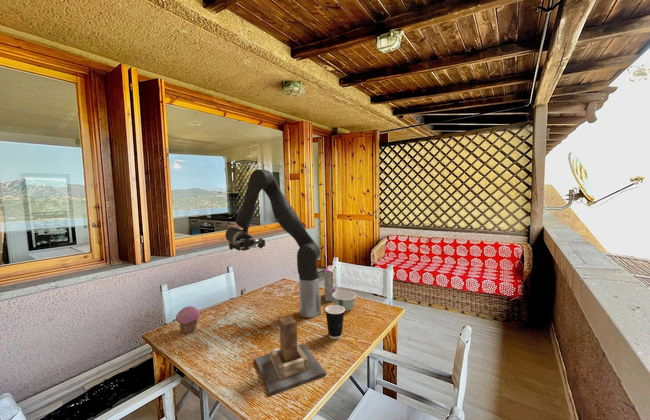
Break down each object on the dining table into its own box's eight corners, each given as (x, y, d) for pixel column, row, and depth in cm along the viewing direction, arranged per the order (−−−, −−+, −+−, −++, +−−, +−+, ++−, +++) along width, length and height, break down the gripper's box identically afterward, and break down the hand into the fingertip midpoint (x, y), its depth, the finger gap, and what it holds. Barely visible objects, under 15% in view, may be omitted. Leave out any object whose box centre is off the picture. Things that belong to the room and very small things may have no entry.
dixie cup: (325, 330, 112) (325, 304, 111) (344, 330, 111) (344, 304, 111) (325, 341, 104) (324, 313, 103) (345, 341, 104) (345, 313, 103)
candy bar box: (328, 293, 152) (328, 265, 151) (337, 294, 151) (336, 265, 150) (324, 301, 141) (323, 270, 140) (333, 302, 140) (333, 271, 139)
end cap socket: (303, 346, 100) (303, 334, 100) (325, 375, 84) (325, 361, 84) (255, 360, 92) (254, 347, 92) (269, 395, 76) (269, 380, 76)
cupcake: (193, 323, 118) (192, 301, 118) (204, 329, 113) (203, 306, 113) (172, 332, 111) (171, 309, 110) (183, 339, 106) (182, 314, 105)
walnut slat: (292, 358, 91) (291, 315, 90) (297, 367, 87) (296, 322, 86) (280, 362, 89) (279, 318, 88) (285, 371, 85) (284, 325, 84)
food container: (355, 313, 127) (355, 300, 127) (330, 312, 129) (330, 298, 129) (357, 303, 139) (357, 291, 138) (334, 301, 141) (333, 289, 140)
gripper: (225, 233, 117) (231, 239, 103) (258, 231, 124) (268, 235, 109) (226, 250, 118) (231, 258, 103) (258, 247, 124) (268, 254, 110)
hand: (250, 246), depth 106 cm, fingers open, 8 cm apart
